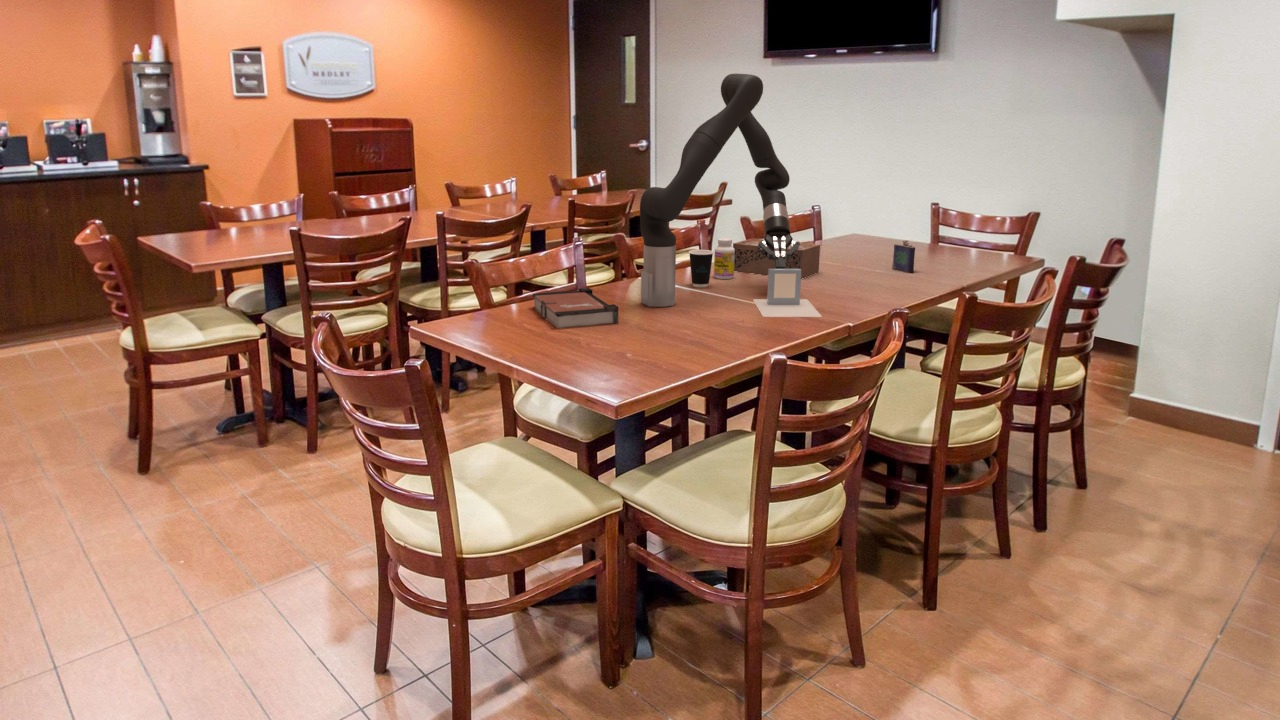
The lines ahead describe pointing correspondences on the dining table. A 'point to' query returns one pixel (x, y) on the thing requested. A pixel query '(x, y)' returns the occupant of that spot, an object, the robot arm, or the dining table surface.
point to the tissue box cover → (758, 263)
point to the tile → (784, 286)
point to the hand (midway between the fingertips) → (781, 269)
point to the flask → (903, 257)
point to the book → (575, 309)
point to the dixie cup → (700, 267)
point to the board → (787, 309)
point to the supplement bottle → (724, 259)
